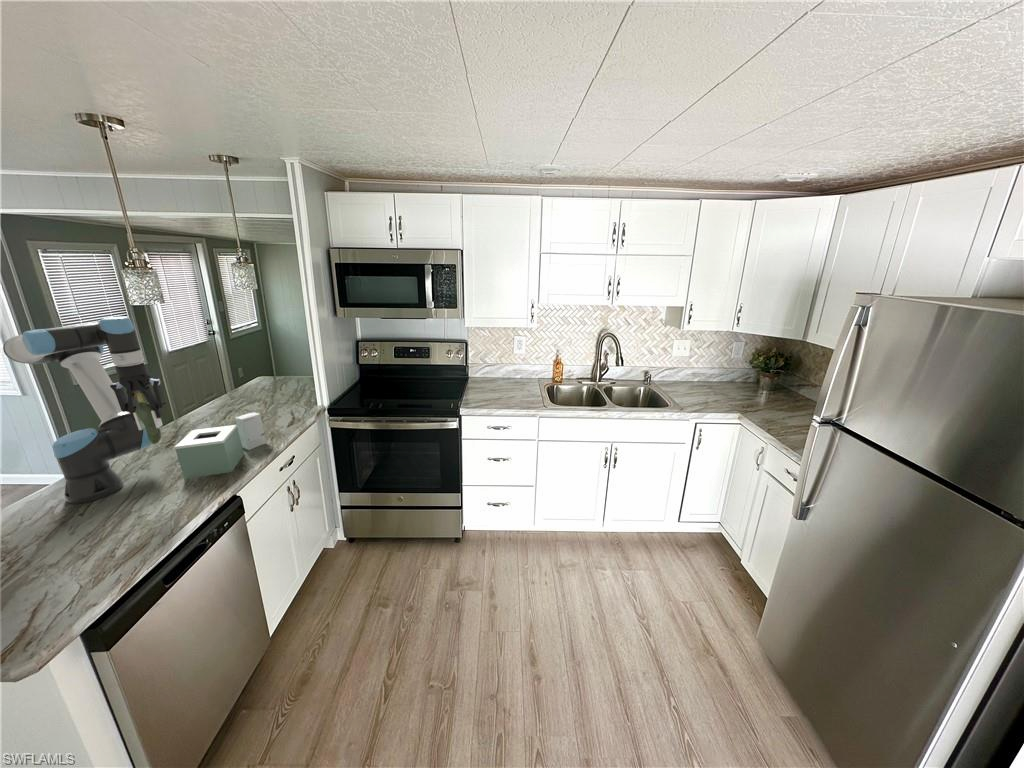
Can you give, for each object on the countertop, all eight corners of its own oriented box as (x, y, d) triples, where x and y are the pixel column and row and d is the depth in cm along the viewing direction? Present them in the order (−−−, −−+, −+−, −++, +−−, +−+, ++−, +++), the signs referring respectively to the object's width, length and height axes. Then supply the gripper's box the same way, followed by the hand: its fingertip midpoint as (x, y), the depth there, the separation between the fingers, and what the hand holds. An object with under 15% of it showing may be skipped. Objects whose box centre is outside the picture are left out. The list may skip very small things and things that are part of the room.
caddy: (184, 478, 156) (174, 446, 152) (201, 459, 171) (192, 430, 167) (231, 472, 161) (222, 440, 156) (244, 453, 175) (236, 424, 171)
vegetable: (167, 441, 145) (151, 389, 139) (158, 447, 141) (140, 393, 135) (155, 442, 145) (138, 390, 139) (145, 447, 141) (126, 394, 135)
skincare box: (248, 450, 178) (241, 420, 174) (241, 447, 181) (233, 417, 176) (267, 443, 185) (260, 413, 180) (260, 440, 188) (253, 411, 183)
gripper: (90, 369, 128) (114, 435, 135) (155, 364, 132) (175, 428, 140) (105, 363, 135) (127, 426, 142) (166, 358, 139) (185, 420, 147)
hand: (151, 427), depth 141 cm, fingers closed on vegetable, 4 cm apart
